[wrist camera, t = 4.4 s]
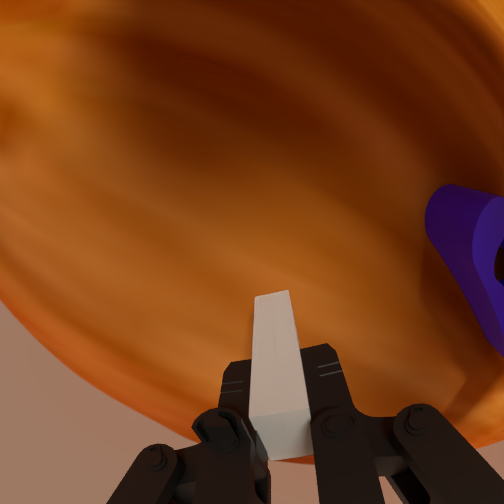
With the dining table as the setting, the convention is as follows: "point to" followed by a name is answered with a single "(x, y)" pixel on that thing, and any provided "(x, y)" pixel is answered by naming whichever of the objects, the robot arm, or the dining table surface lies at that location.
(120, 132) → the dining table surface
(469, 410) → the dining table surface
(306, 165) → the dining table surface
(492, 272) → the bracket
